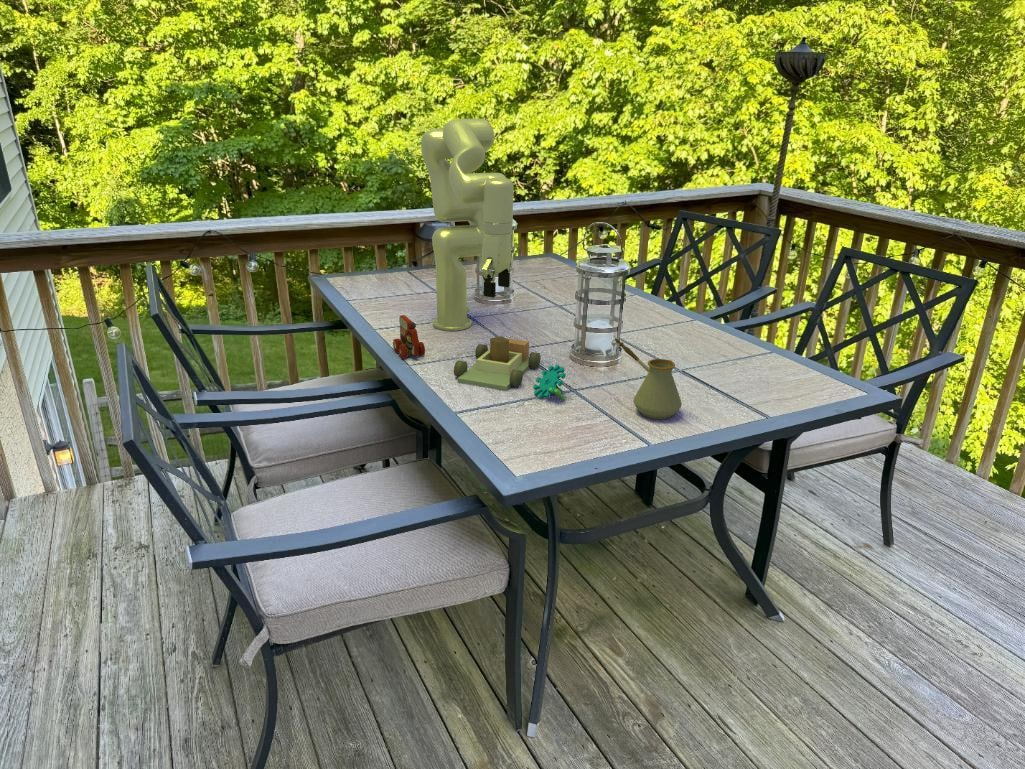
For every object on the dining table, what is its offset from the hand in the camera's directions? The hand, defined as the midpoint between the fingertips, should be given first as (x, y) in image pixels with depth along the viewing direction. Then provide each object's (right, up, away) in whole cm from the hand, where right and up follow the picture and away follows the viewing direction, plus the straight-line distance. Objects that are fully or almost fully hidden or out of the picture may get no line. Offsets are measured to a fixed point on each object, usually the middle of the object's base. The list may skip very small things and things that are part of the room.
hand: (496, 291), depth 196 cm
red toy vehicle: (-26, -16, +17) cm, 35 cm away
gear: (+14, -28, -9) cm, 33 cm away
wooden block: (+1, -20, +5) cm, 21 cm away
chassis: (0, -21, +5) cm, 22 cm away
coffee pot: (+36, -30, -14) cm, 49 cm away
